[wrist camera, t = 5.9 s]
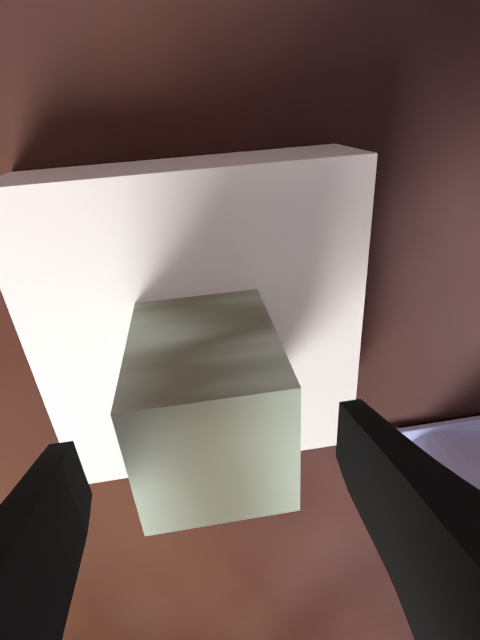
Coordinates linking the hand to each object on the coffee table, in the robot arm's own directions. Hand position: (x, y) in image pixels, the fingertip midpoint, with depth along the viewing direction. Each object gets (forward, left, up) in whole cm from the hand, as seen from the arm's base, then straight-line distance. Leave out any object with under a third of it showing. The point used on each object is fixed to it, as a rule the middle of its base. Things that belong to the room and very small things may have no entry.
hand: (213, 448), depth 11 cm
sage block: (0, 0, -5) cm, 5 cm away
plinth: (0, 0, -9) cm, 9 cm away
